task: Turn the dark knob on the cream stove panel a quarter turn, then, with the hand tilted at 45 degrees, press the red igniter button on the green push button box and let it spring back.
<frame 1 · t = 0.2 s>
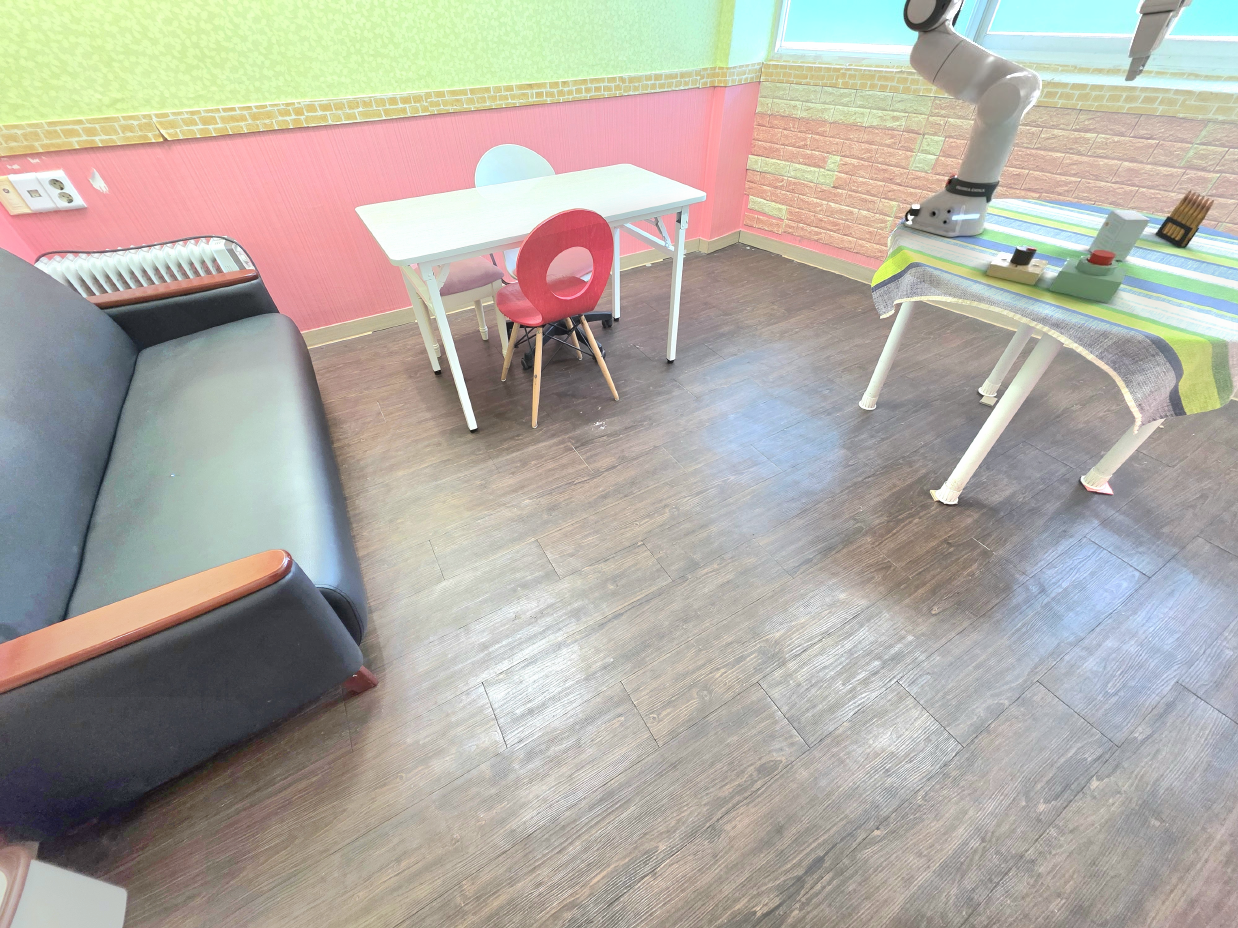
hand: (1132, 78, 117), 39 cm above the table, tool pointing down, fingers open, 8 cm apart
igniter button: (1101, 258, 118), point 8 cm above the table, slide at 0.1 cm
small box: (1105, 256, 137), on the table
green push button box: (1081, 289, 123), on the table
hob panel: (1013, 273, 131), on the table
ammunition clip: (1169, 241, 142), on the table
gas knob: (1023, 255, 128), point 5 cm above the table, hinge at 0.0°
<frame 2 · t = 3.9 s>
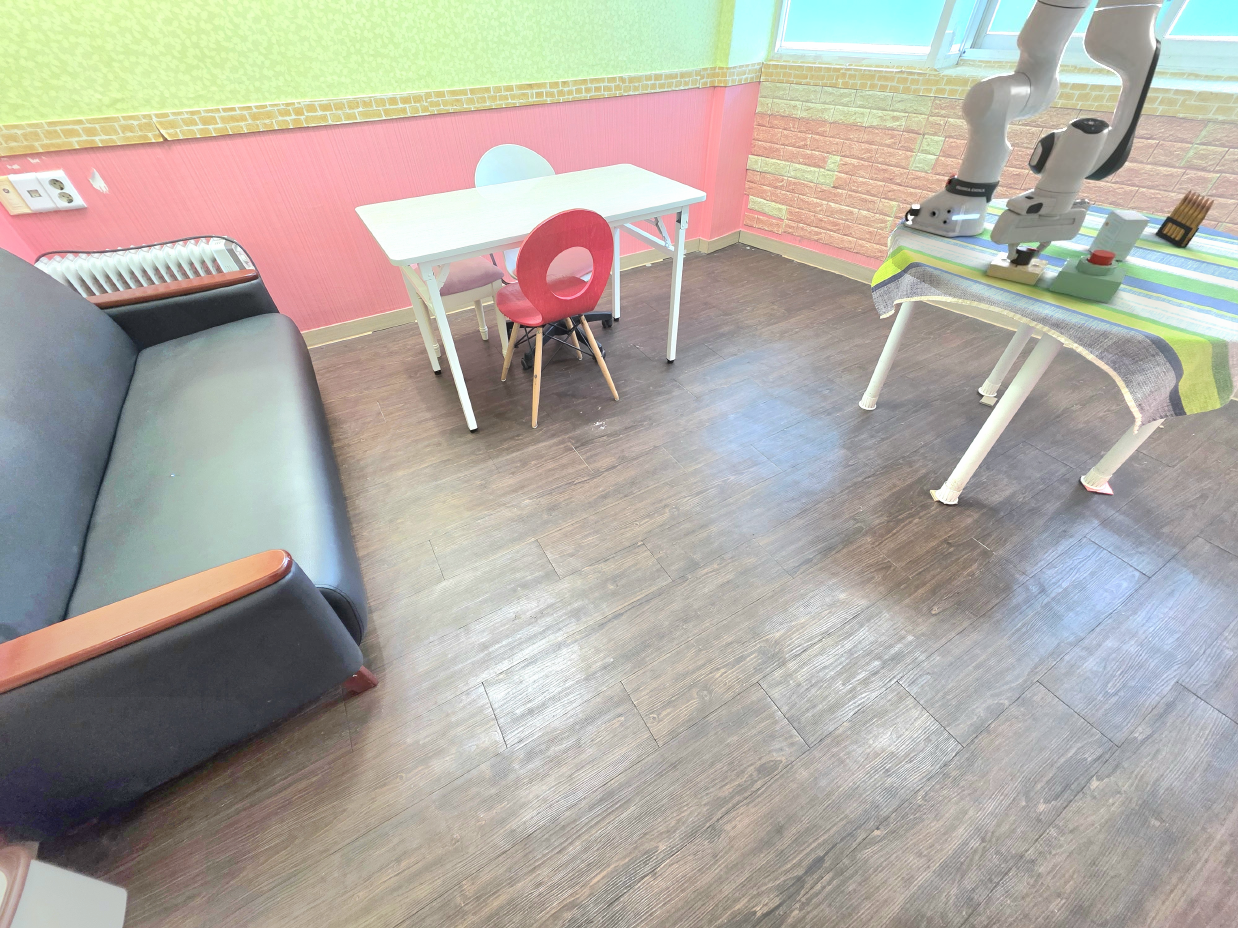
hand: (1021, 259, 128), 4 cm above the table, tool pointing down, fingers closed on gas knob, 4 cm apart
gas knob: (1023, 255, 128), point 5 cm above the table, hinge at 0.0°, touching gripper
everything else where it was.
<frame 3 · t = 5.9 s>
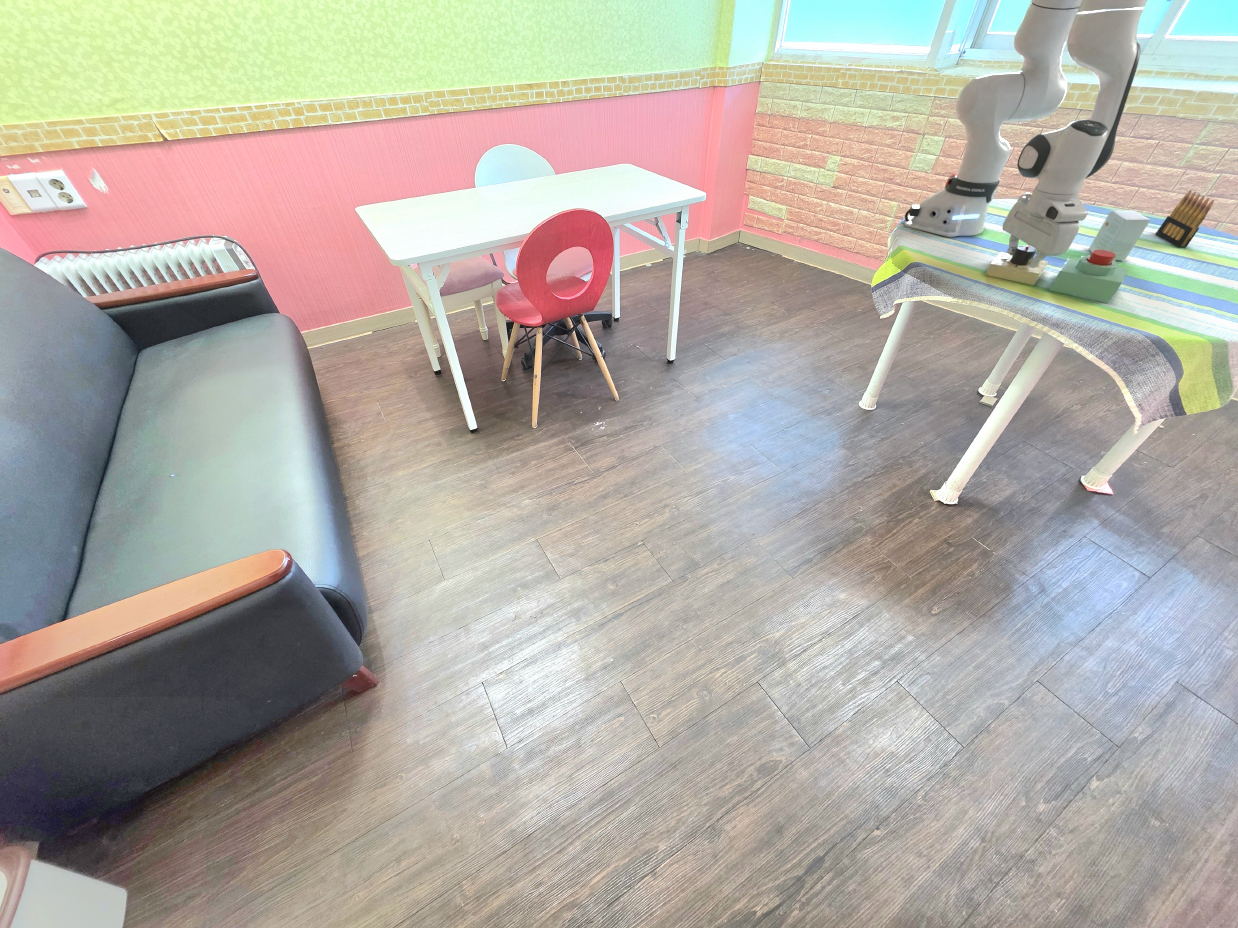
hand: (1020, 260, 129), 4 cm above the table, tool pointing down, fingers open, 7 cm apart
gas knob: (1023, 255, 128), point 5 cm above the table, hinge at 95.3°
everything else where it was.
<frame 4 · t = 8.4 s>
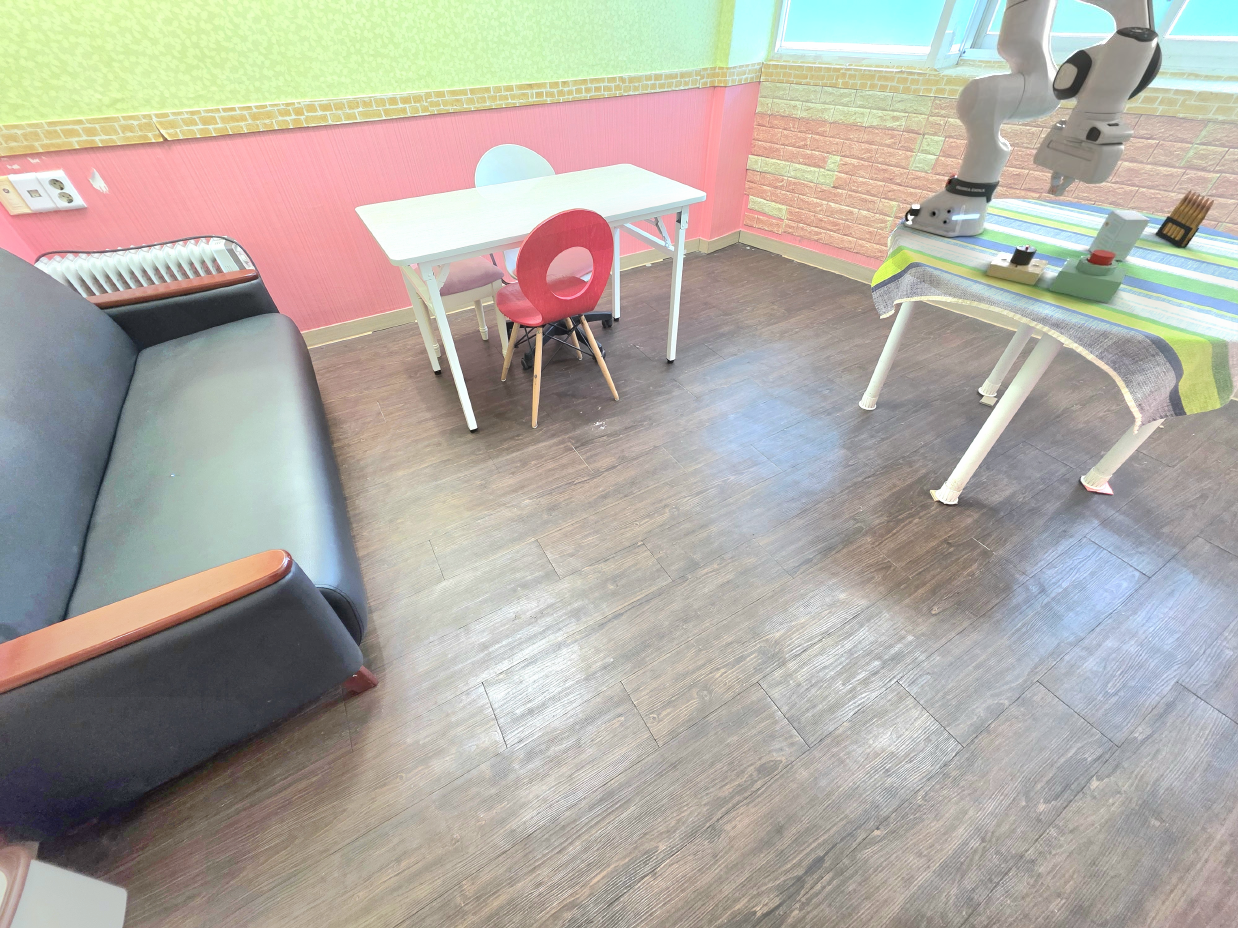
hand: (1054, 195, 118), 19 cm above the table, tool pointing down, fingers closed
nothing on the table moved.
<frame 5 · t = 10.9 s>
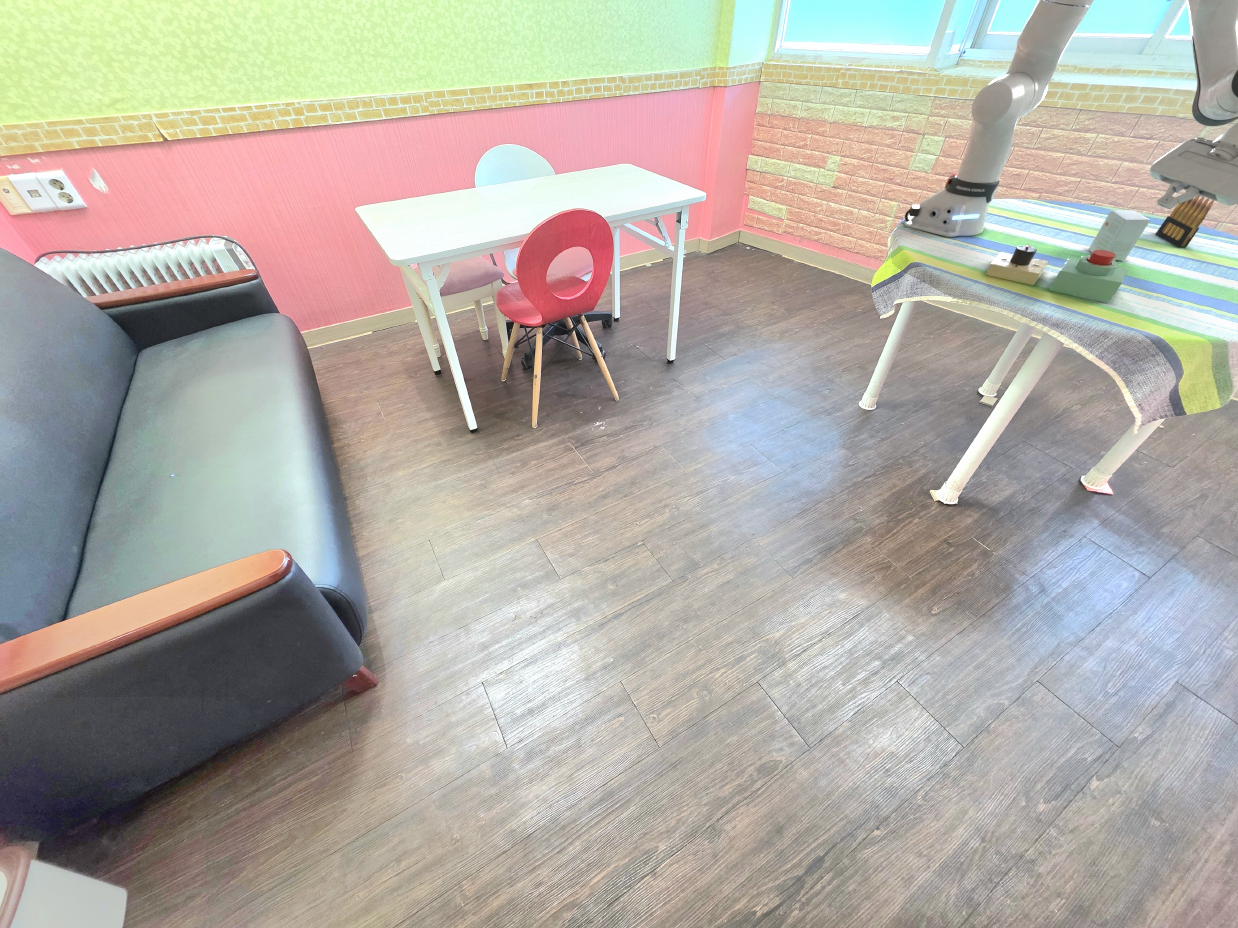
hand: (1162, 205, 112), 18 cm above the table, tool tilted 40°, fingers closed
nothing on the table moved.
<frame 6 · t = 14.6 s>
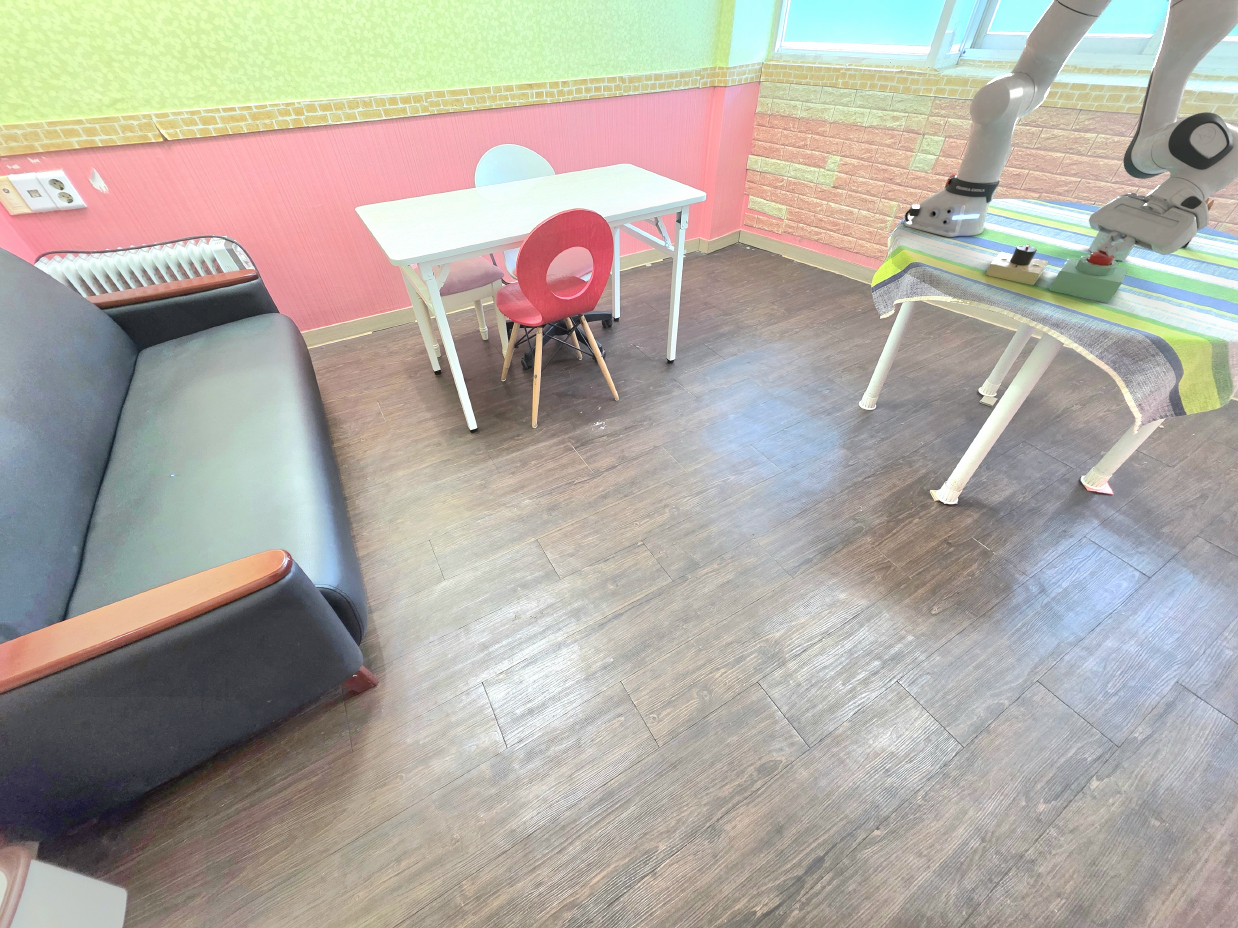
hand: (1102, 253, 117), 9 cm above the table, tool tilted 45°, fingers closed, pressing on igniter button
igniter button: (1099, 260, 118), point 7 cm above the table, slide at -0.4 cm, touching gripper
everything else where it was.
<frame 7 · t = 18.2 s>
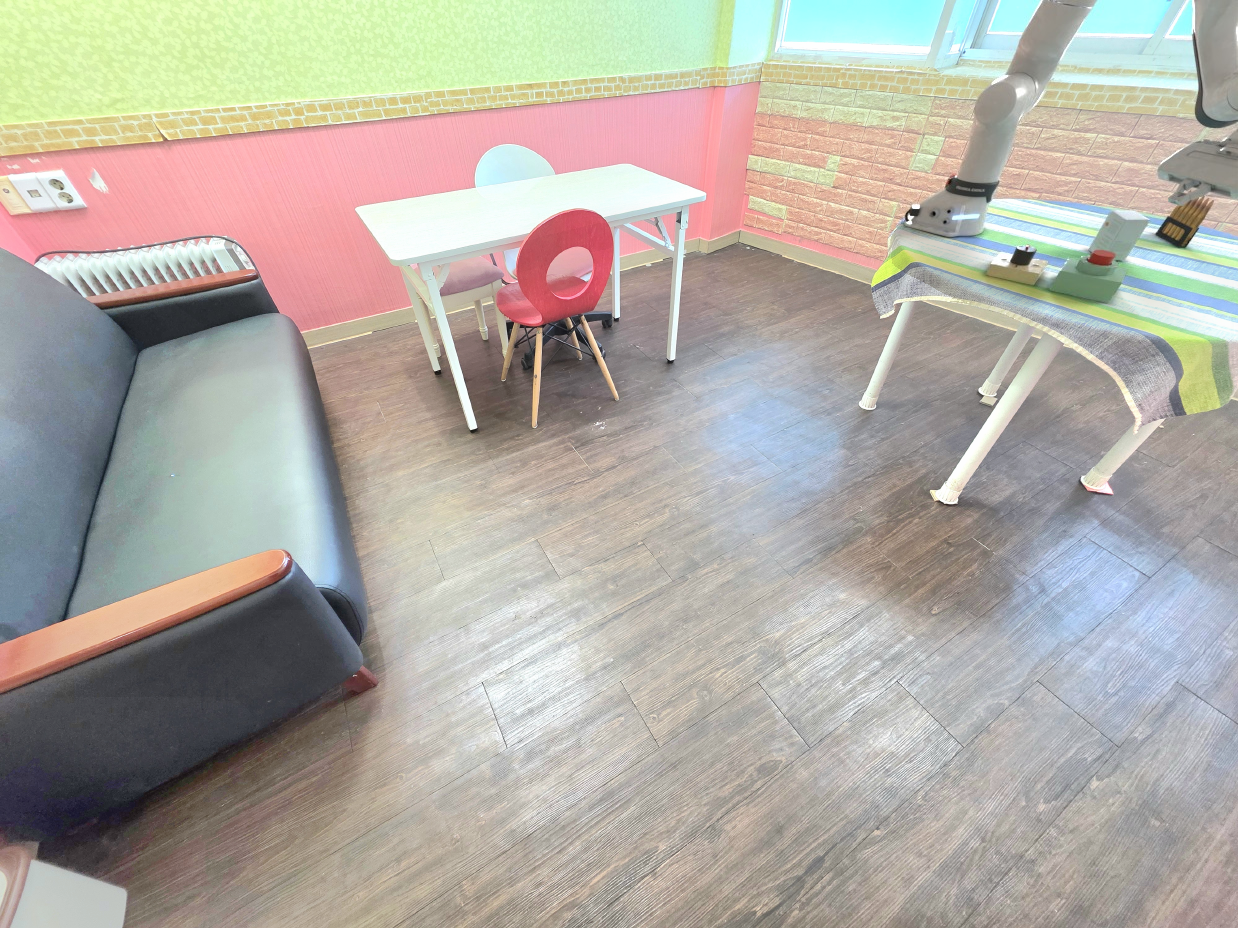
hand: (1174, 202, 111), 19 cm above the table, tool tilted 45°, fingers closed
igniter button: (1101, 258, 118), point 8 cm above the table, slide at 0.1 cm
everything else where it was.
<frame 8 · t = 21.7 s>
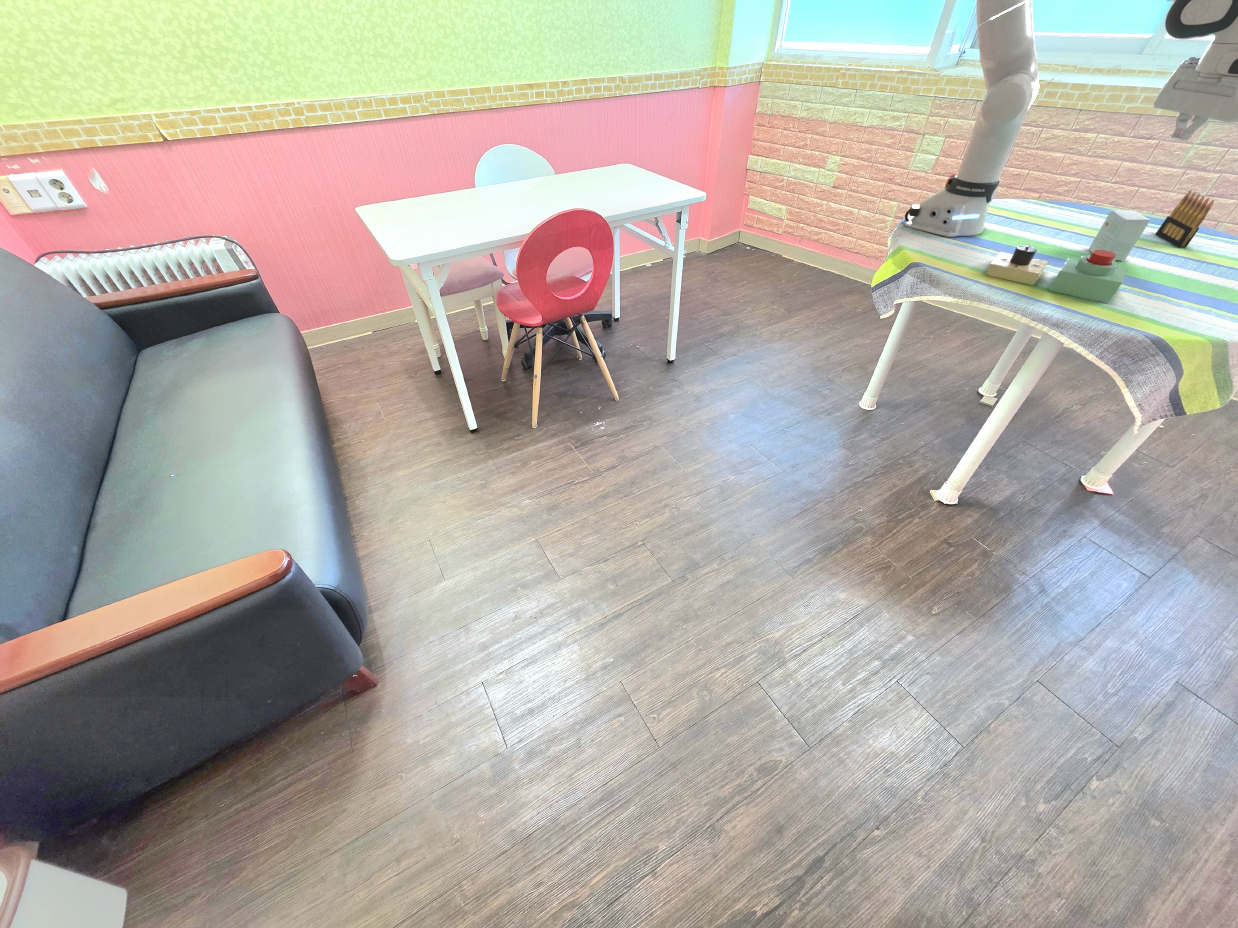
hand: (1179, 139, 112), 29 cm above the table, tool pointing down, fingers closed
nothing on the table moved.
at the end: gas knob at +95° (first picture: +0°); igniter button pushed in 1.5 cm at the most during the clip, back to where it started at the end; igniter button slide at 0.1 cm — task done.
